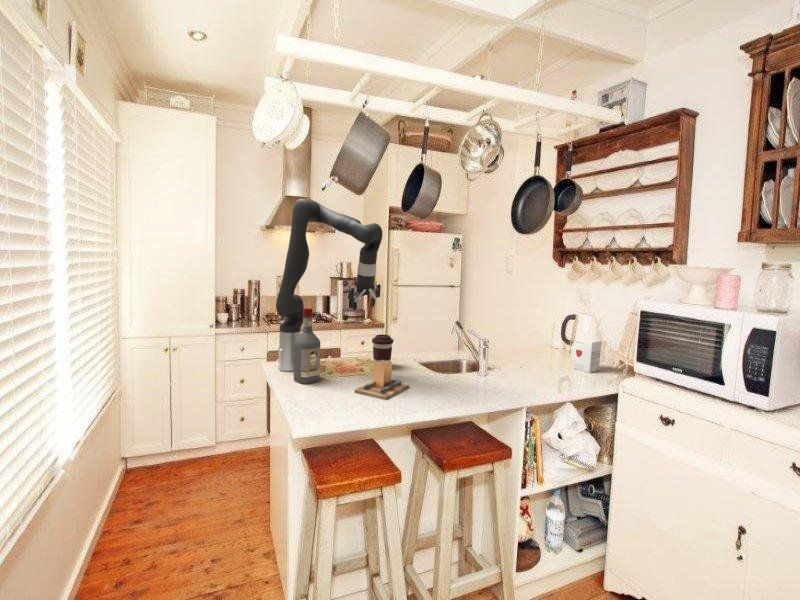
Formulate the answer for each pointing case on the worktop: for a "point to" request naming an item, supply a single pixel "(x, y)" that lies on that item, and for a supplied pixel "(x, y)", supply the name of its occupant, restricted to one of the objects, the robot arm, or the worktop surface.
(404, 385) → the board
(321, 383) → the worktop surface
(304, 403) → the worktop surface
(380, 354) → the coffee cup
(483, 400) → the worktop surface
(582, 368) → the supplement box
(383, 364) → the block
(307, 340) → the liquor
